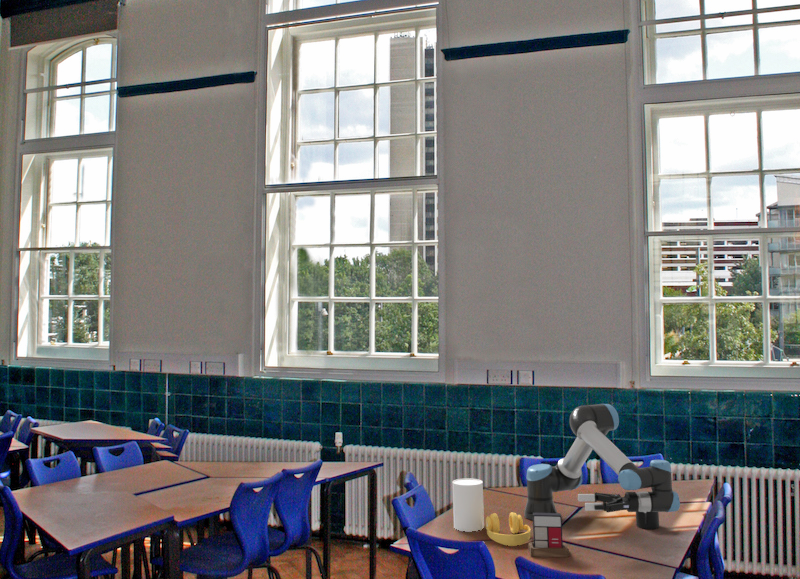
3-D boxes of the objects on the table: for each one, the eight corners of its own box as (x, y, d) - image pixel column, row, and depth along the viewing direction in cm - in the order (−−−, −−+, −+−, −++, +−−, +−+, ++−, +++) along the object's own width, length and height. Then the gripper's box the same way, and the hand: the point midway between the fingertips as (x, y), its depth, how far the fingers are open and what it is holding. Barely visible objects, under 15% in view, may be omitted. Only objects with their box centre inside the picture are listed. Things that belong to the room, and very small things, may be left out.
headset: (493, 547, 262) (493, 524, 262) (482, 532, 283) (481, 511, 283) (536, 545, 263) (535, 522, 264) (521, 531, 284) (520, 509, 285)
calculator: (534, 554, 252) (532, 515, 253) (533, 551, 256) (532, 512, 257) (563, 555, 250) (561, 516, 251) (562, 551, 254) (560, 513, 255)
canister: (487, 530, 284) (486, 484, 285) (458, 532, 281) (456, 486, 283) (479, 521, 297) (477, 477, 298) (450, 523, 295) (449, 479, 296)
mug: (634, 529, 280) (633, 508, 280) (637, 522, 291) (636, 501, 291) (658, 532, 276) (657, 510, 277) (659, 524, 287) (658, 503, 287)
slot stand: (528, 549, 257) (528, 542, 258) (565, 550, 256) (565, 542, 257) (531, 556, 250) (530, 548, 250) (568, 556, 249) (568, 548, 249)
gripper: (647, 520, 239) (588, 521, 241) (628, 503, 264) (575, 503, 265) (646, 500, 240) (587, 500, 241) (627, 484, 264) (575, 485, 266)
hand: (581, 502), depth 253 cm, fingers open, 13 cm apart
